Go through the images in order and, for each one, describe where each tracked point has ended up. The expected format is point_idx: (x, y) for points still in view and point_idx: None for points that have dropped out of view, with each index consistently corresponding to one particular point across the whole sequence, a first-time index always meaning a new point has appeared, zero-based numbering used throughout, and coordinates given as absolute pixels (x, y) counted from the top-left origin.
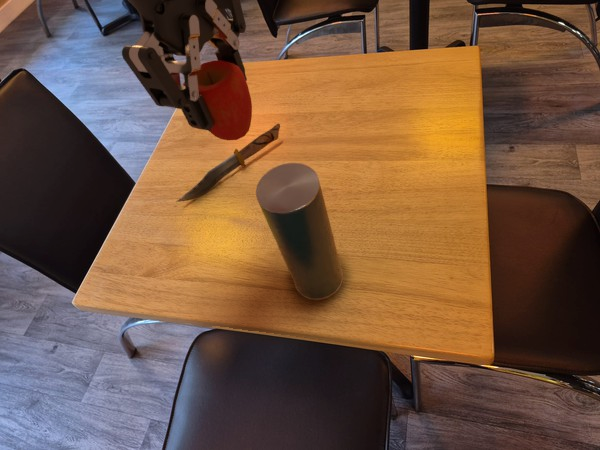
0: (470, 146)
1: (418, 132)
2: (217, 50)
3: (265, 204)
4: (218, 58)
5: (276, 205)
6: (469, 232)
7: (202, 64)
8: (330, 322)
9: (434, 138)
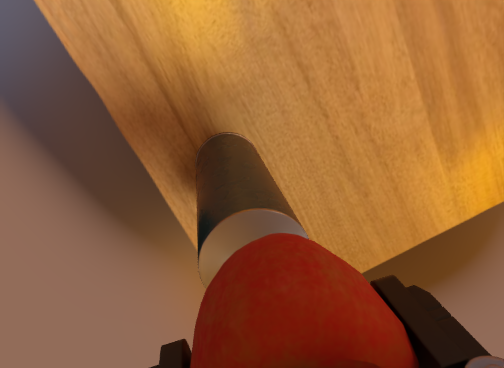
0: (478, 205)
1: (490, 137)
2: (458, 362)
3: (205, 258)
4: (425, 353)
5: (213, 275)
6: (360, 261)
7: (365, 363)
8: (188, 209)
9: (483, 161)
